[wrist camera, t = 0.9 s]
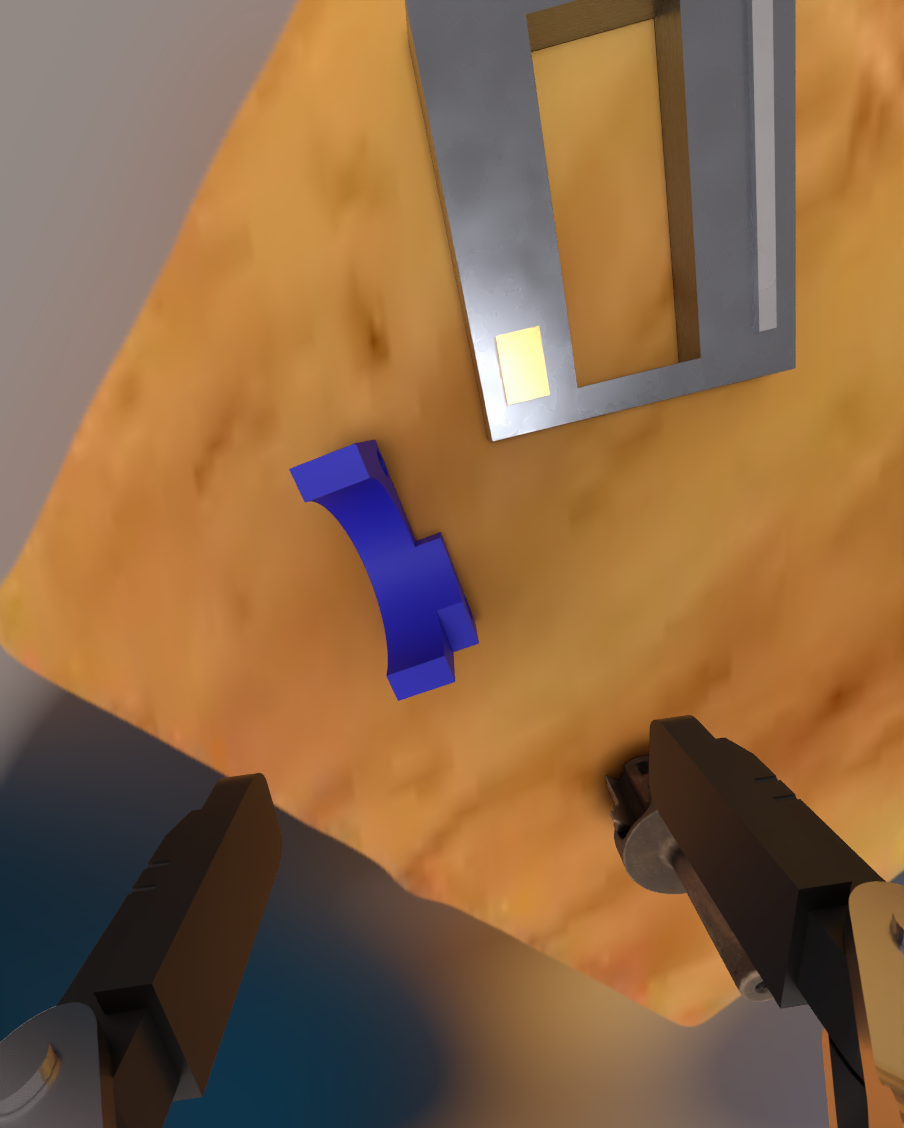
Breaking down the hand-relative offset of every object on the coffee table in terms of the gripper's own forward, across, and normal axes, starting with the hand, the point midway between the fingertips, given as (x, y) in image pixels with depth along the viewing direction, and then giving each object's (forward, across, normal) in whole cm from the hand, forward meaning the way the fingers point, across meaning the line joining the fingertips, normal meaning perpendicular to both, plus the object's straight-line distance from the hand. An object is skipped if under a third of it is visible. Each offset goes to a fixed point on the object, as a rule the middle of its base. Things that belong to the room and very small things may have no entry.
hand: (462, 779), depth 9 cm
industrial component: (+17, -13, +18) cm, 29 cm away
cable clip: (+18, +2, -1) cm, 18 cm away
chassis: (+17, -10, -16) cm, 25 cm away
